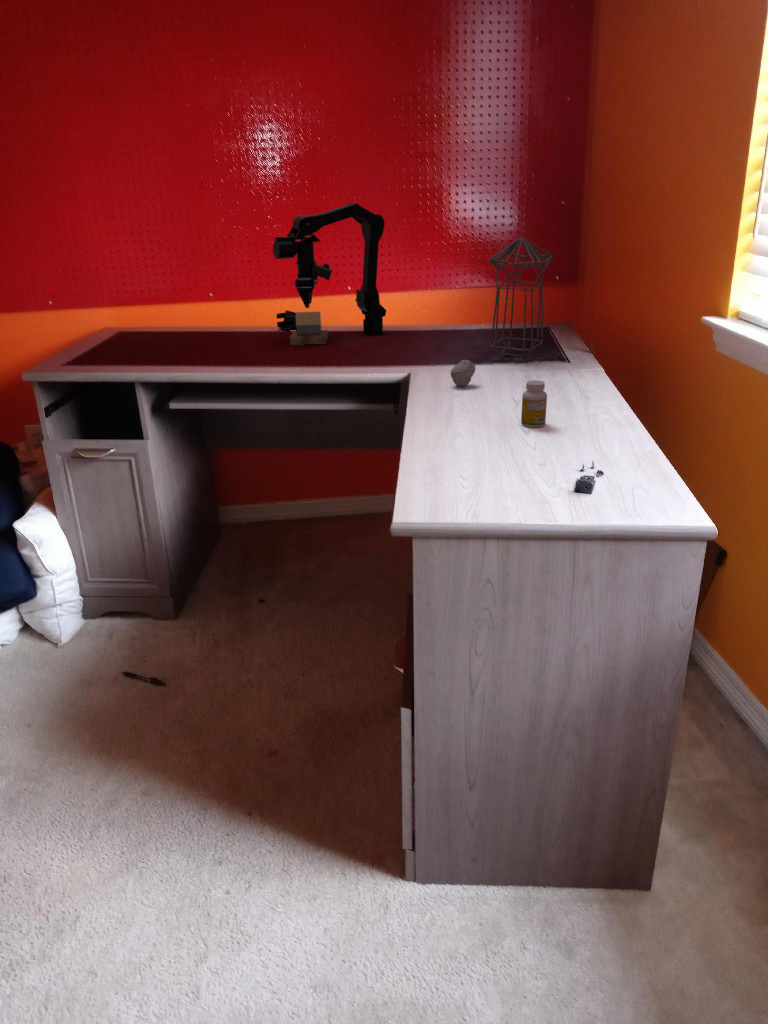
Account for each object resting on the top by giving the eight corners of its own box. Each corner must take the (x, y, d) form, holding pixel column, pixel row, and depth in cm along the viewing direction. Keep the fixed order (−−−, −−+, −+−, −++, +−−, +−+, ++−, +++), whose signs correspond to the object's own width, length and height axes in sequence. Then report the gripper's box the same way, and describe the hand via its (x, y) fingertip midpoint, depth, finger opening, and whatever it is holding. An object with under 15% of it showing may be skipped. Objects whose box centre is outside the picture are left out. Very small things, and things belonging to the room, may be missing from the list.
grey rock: (479, 386, 209) (480, 360, 206) (458, 390, 206) (458, 364, 203) (466, 382, 213) (467, 356, 211) (445, 385, 210) (445, 359, 208)
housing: (298, 332, 270) (296, 312, 267) (321, 332, 270) (320, 311, 267) (296, 335, 265) (295, 314, 262) (320, 335, 265) (319, 314, 262)
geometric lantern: (548, 356, 241) (556, 235, 226) (531, 368, 228) (539, 241, 213) (499, 351, 247) (505, 233, 232) (481, 362, 235) (485, 239, 220)
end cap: (307, 331, 285) (306, 312, 282) (289, 334, 281) (288, 315, 278) (294, 327, 292) (292, 309, 290) (277, 330, 289) (275, 311, 286)
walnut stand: (328, 337, 274) (327, 330, 273) (325, 344, 263) (325, 337, 262) (293, 338, 274) (293, 331, 273) (290, 345, 263) (289, 337, 262)
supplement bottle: (524, 420, 181) (526, 378, 177) (547, 422, 179) (550, 380, 175) (518, 426, 176) (520, 384, 172) (542, 429, 174) (545, 386, 170)
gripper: (328, 259, 249) (330, 309, 255) (331, 253, 266) (333, 300, 272) (293, 260, 249) (296, 310, 255) (298, 254, 266) (301, 301, 272)
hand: (308, 305), depth 264 cm, fingers open, 9 cm apart
